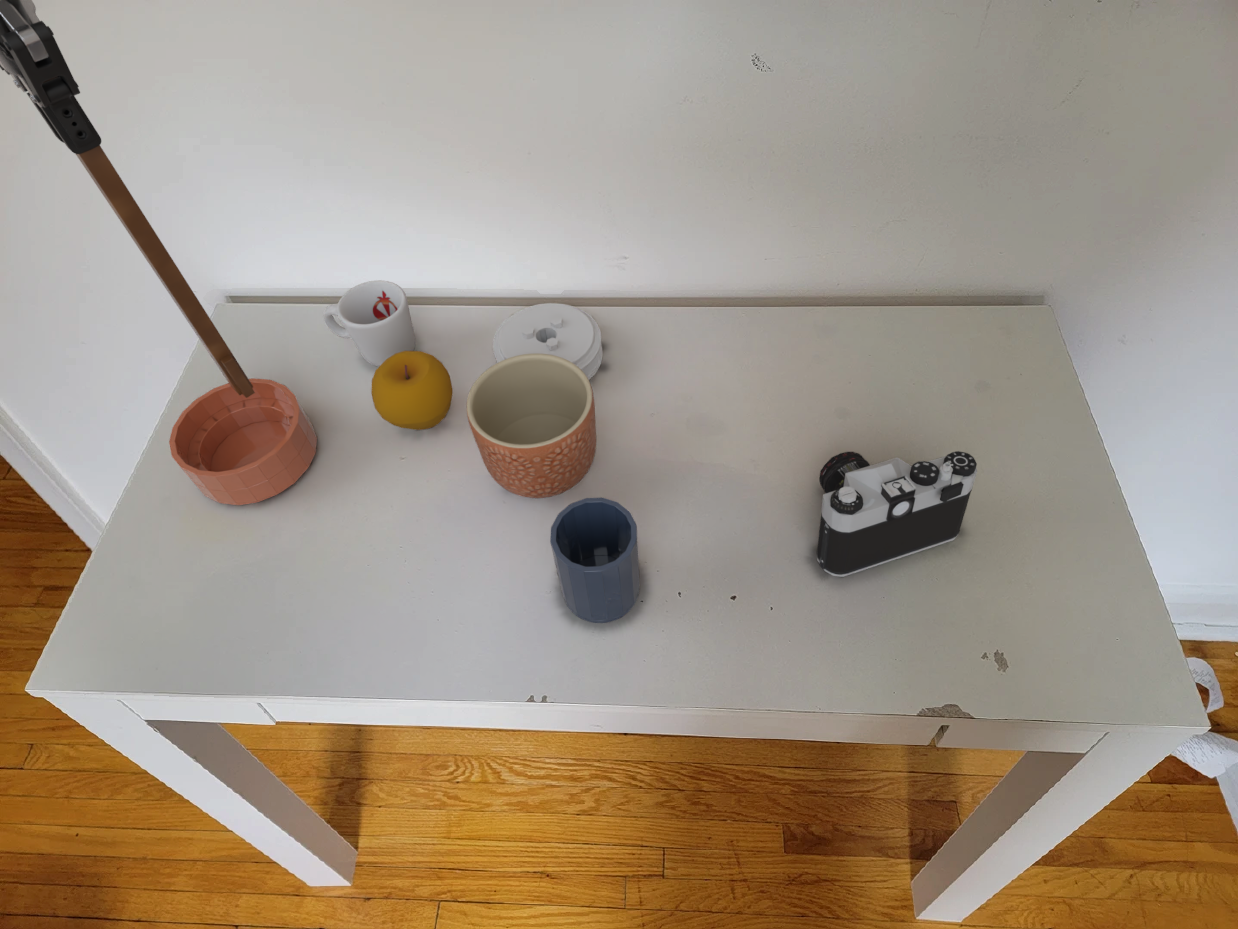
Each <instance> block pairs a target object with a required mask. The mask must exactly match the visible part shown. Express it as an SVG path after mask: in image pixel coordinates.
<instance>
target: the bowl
mask: <svg viewBox="0 0 1238 929" xmlns="http://www.w3.org/2000/svg"><path fill="white" fill-rule="evenodd" d="M248 379H249V381H250V382H251V384H252V385H253V388H252V389H253V390H254V392H255V393H254V394H252V395H251V396H249V397H247V398H246V397H245V396H244V395H243V394H242V395H239V394H238V393H237V392H236V391H235V390H234V389H233V388H232V387H231V385H230V384H229V382H227V383H225V384H222V385H219V386H216V387H213V388H212V389H210V390H208V391H207V392H205V393H204V394H202V395H200V396H198V397H197V398H196V399H195V400H194V401H193V402H191V403H190V404H189V405H188V406H187V407H186V408H184V410H183V411H182V412H181V413H180V415H179V416H178V418H177V419H176V421H175V423H174V424H173V426H172V427H171V428H172V429H171V432H170V437H169V439H168V440H169V441H168V444H169V450H170V455H171V457H172V459H173V460H174V461H175V462H176V464H177V465H178V466H179V468H180V469H181V470H182V471H183V472H184V473H185V475H186V476H187V477H188V478H189V479H190V480H191V481H192V483H193V484H194V485H195V486H196V487H197V488H198V490H199V491H200V492H201V494H202V495H203V496H205V497H206V498H208V499H210V500H212V501H215V502H216V503H219V504H224V505H233V506H242V505H243V506H244V505H249V504H250V505H251V504H255V503H260V502H263V501H264V500H267V499H270V498H272V497H274V496H277V495H279V494H281V493H282V492H284V491H285V490H287V489H288V488H290V487H291V486H292V485H294V484H295V483H296V482H297V481H298V480H299V479H300V478H301V477H302V475H304V473H305V472H306V471H307V470H308V469H309V467H310V465H311V463H312V461H313V459H314V458H315V456H316V453H317V444H318V443H317V442H318V437H317V434H316V431H315V428H314V425H313V424H312V422H311V421H310V418H309V417H308V415H307V413H306V411H305V410H304V408H303V406H302V405H301V403H300V401H299V400H298V398H297V396H296V395H295V393H294V392H293V391H291V390H290V388H288V387H287V385H285V384H282V383H280V382H277V381H274V380H272V379H265V378H257V377H256V378H255V377H251V378H248Z"/></svg>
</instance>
